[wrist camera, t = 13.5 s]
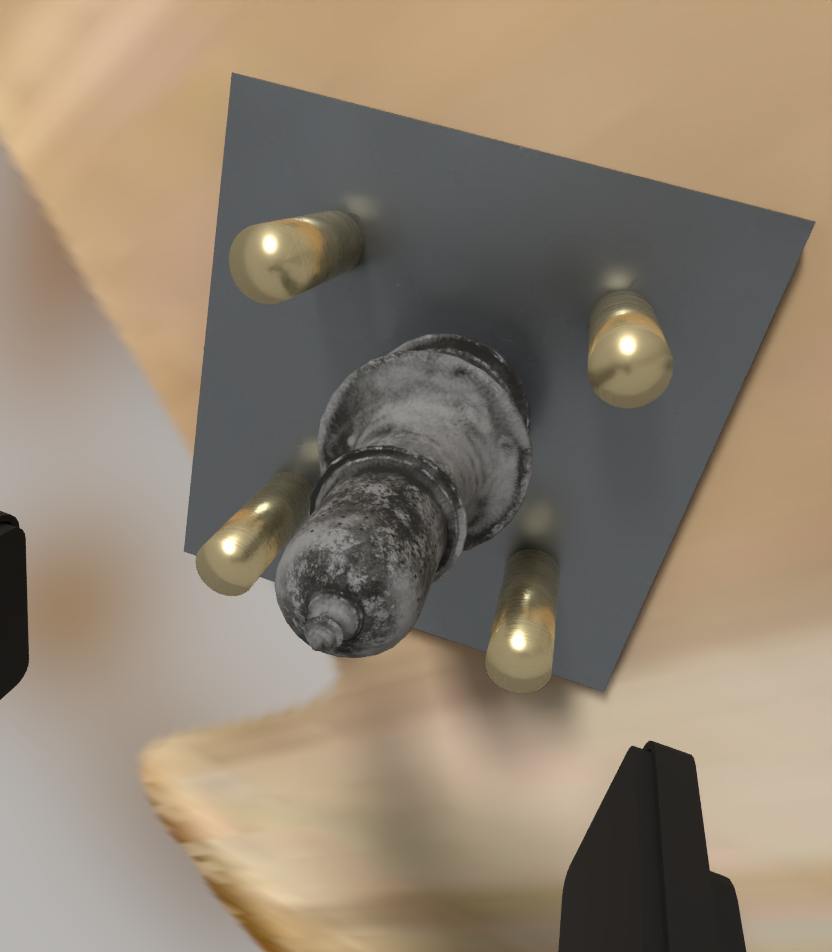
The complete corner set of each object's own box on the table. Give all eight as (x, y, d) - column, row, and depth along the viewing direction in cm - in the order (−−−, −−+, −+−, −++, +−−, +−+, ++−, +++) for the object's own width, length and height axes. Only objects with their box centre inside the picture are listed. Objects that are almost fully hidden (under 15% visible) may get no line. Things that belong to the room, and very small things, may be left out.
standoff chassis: (803, 218, 19) (888, 241, 14) (603, 669, 26) (605, 805, 21) (250, 77, 21) (127, 46, 15) (199, 536, 28) (102, 629, 22)
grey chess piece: (580, 433, 22) (574, 694, 11) (436, 535, 24) (316, 831, 13) (454, 281, 21) (313, 404, 10) (318, 403, 23) (86, 607, 12)
